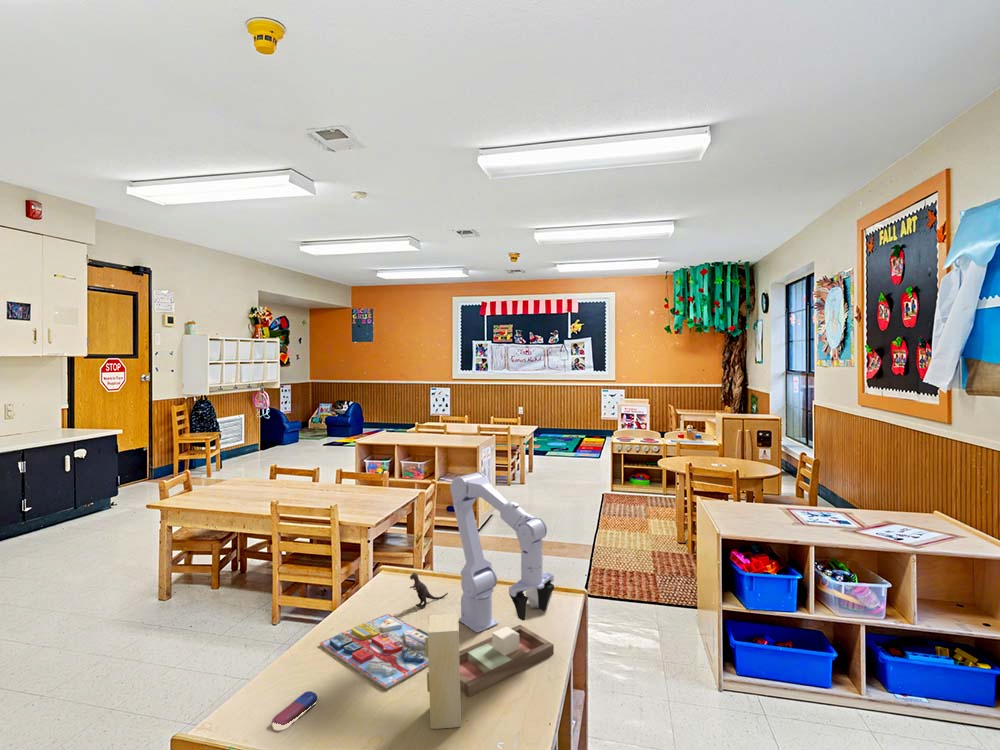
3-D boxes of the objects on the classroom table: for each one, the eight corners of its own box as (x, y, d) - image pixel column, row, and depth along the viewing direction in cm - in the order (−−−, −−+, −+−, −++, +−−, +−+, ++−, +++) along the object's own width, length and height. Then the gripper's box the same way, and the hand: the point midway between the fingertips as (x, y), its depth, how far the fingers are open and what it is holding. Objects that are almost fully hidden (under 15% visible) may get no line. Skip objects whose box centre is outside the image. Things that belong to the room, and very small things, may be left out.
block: (492, 647, 139) (492, 632, 139) (507, 640, 142) (507, 626, 142) (504, 655, 135) (504, 640, 135) (519, 648, 138) (519, 633, 138)
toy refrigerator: (428, 705, 120) (426, 614, 119) (460, 703, 121) (459, 612, 120) (426, 730, 112) (424, 633, 111) (461, 727, 113) (459, 631, 112)
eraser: (281, 734, 112) (281, 727, 112) (267, 729, 113) (267, 721, 113) (320, 701, 122) (320, 694, 122) (307, 696, 124) (307, 689, 123)
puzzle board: (456, 652, 142) (456, 642, 142) (386, 694, 125) (386, 683, 125) (387, 616, 163) (387, 607, 162) (319, 647, 145) (319, 638, 145)
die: (544, 617, 161) (559, 587, 164) (519, 601, 162) (535, 572, 165) (542, 614, 169) (556, 586, 171) (518, 599, 170) (533, 571, 173)
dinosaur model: (408, 572, 165) (444, 562, 175) (405, 608, 166) (442, 595, 176) (415, 576, 163) (451, 566, 173) (413, 613, 163) (449, 600, 173)
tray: (437, 670, 133) (437, 660, 133) (520, 633, 150) (519, 624, 150) (469, 697, 123) (468, 686, 123) (553, 653, 140) (553, 644, 140)
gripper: (521, 576, 134) (521, 629, 135) (561, 562, 143) (561, 611, 144) (503, 568, 140) (503, 618, 140) (543, 554, 149) (543, 602, 149)
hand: (532, 614), depth 142 cm, fingers open, 7 cm apart
